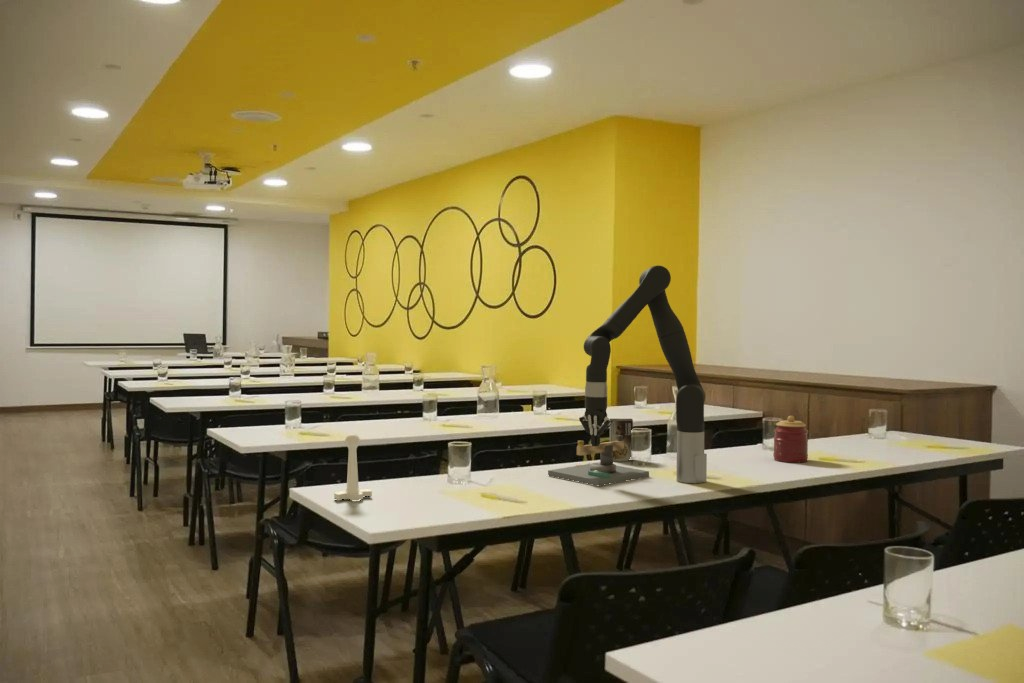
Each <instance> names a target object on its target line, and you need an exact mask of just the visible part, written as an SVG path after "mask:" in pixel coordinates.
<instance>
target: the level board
mask: <svg viewBox="0 0 1024 683" xmlns="http://www.w3.org/2000/svg"><path fill="white" fill-rule="evenodd" d="M593 463H594V462H592V463H588V464H587V463H586V464H576V465H574V466H568V467H562V468H554V469H549V470H547V476H548V475H549V476H548V477H550V476H554V477H553V478H555V477H559V478H558V479H560V478H564V479H563V480H565V479H569V480H574V481H579V482H583V483H582V484H584V483H588V484H587V485H589V484H593V485H603V486H605V485H604V484H608V485H610V484H609V483H614V484H616V483H615V482H619V483H622V482H621V481H625V482H627V481H626V480H630V481H632V480H631V479H635V480H639V478H641V479H644V478H649V477H650V471H649V470H644V469H639V468H632V467H627V466H621V465H617V464H615V465H616V472H613V473H604V472H599V471H597V470H595V471H590V464H593ZM597 463H600V461H598V462H597ZM569 480H568V481H569ZM574 481H573V482H574ZM579 482H578V483H579ZM593 485H592V486H593Z"/></svg>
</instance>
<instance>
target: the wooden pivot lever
mask: <svg viewBox="0 0 1024 683" xmlns="http://www.w3.org/2000/svg"><path fill="white" fill-rule="evenodd" d="M622 449H624V441H623V436H622V435H618V436H617V441H611V442H610V441H605V442H600V445H599V446H596V447H595V446H592V444H591V443H590V444H585V441H584V440H577V446H576V456H580V457H581V456H587V455H592V454H593V455H594V454H600V460H599V462H600V463H598V462H592V463H593V464H592V463H589V464H590V471H595V470H597V471H599V472H604V473H613V472H616V465H617V464H615V463H614V461H613V451H615V450H622Z"/></svg>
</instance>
